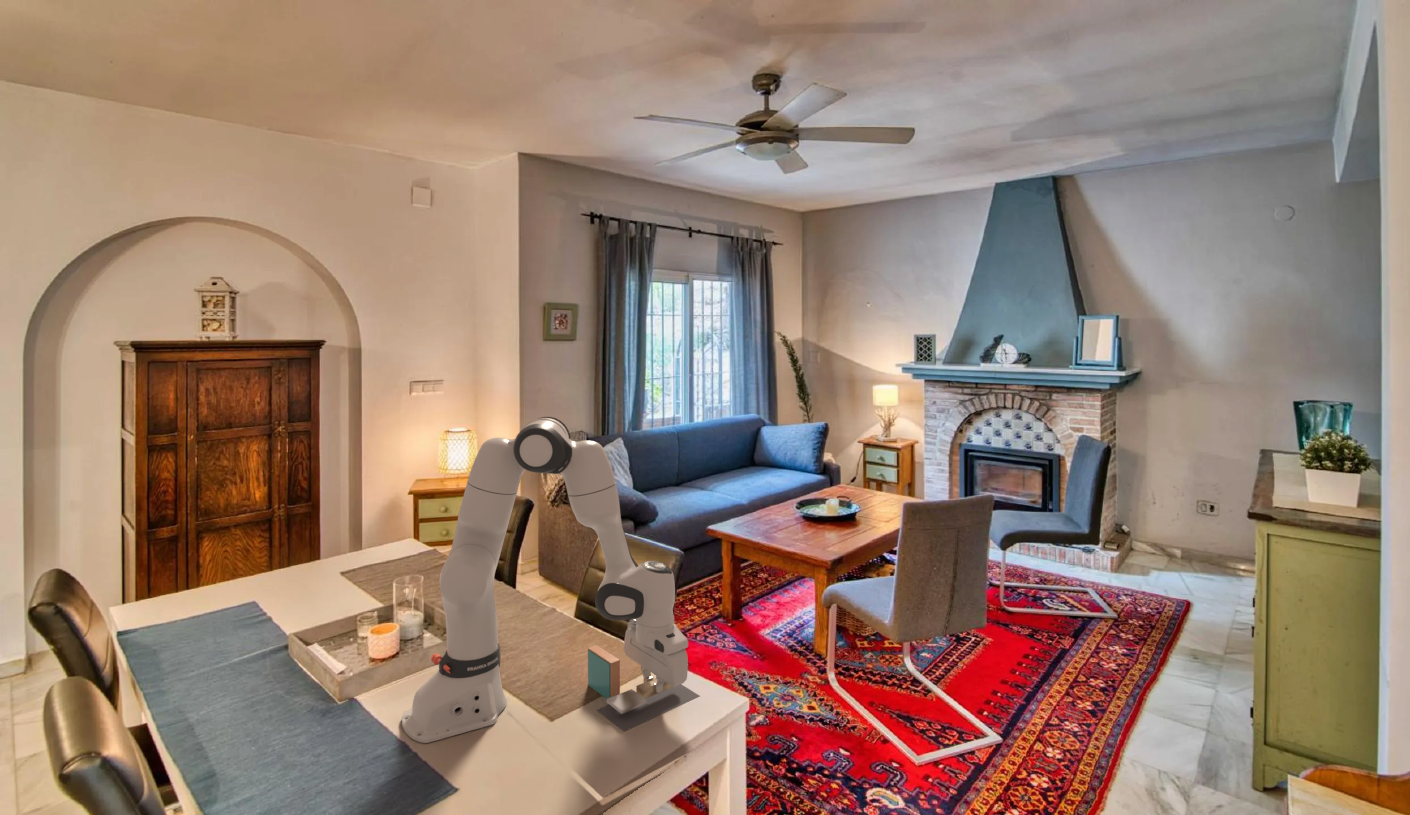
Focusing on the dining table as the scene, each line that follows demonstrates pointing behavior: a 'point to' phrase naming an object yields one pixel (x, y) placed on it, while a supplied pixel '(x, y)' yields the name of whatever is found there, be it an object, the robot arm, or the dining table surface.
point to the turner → (635, 696)
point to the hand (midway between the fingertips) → (653, 687)
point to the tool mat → (649, 707)
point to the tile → (603, 672)
